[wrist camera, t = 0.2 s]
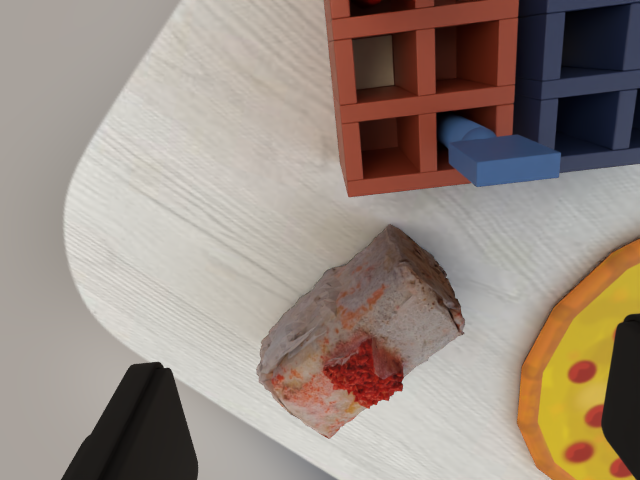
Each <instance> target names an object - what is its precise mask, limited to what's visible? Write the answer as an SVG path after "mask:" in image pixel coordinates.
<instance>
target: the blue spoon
mask: <svg viewBox="0 0 640 480" xmlns="http://www.w3.org/2000/svg"><path fill="white" fill-rule="evenodd" d="M436 130H437V141H439V142H440V143H441V144H443V145H444V146H445V147H447V148H448V149H449V164H450V165H451V166H453V167H454V168H455V169H456V170H457V171H458V172H460V173H461V174H462V175H463V176H464V177H466V178H467V179H468V180H469V181H470V182H471V183H473V184H474V185H475V186H476V187H481V186H490V185H499V184H507V183H516V182H525V181H533V180H542V179H551V178H558V177H559V170H560V159H561V153H560V152H558V151H556V150H553V149H551V148H549V147H546V146H544V145H542V144H539V143H537V142H534V141H532V140H530V139H527V138H525V137H523V136H520V135H518V134H517V135H508V136H499V137H497V136H496V135H495V133H494V132H493V131H491V130H490V129H488V128H486V127H484V126H481V125H479V124H477V123H475V122H473V121H471V120H468V119H466V118H464V117H462V116H460V115H458V114H455V113H453V112H451V111H445V112H437V113H436Z"/></svg>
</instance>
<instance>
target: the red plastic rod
mask: <svg viewBox="0 0 640 480" xmlns="http://www.w3.org/2000/svg"><path fill="white" fill-rule="evenodd" d="M352 1H353V2H354V4H355V5H356V6H358V7H359V8H362V9H369V8H372V7H373V6H375V5H376V4H378V3H379V2H381V1H383V0H352Z"/></svg>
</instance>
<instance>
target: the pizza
mask: <svg viewBox="0 0 640 480" xmlns="http://www.w3.org/2000/svg"><path fill="white" fill-rule="evenodd" d="M638 313H640V239H638V240H636V241H634V242H632V243H630V244H628V245H626V246H624V247H622V248H620V249H618V250H616V251H614V252H612V253H611V254H610V255H609V256H608V257H607V258H606V259H605V260H604V261H603V262H602V263H600V264H599V265H598V266H597V267H596V268H595V269H594V270H593V271H592V272H591V273H590V274H589V275H588V276H587V277H585V278H584V279H583V280H582V281H581V282H580V283H579V284H578V285H577V286H576V287H575V288H574V289H573V290H572V291H571V292H569V293H568V294H567V295H566V296H565V297H564V298H563V299H562V300H561V301H560V302H559V303H558V304H557V305H556V306H555V307H554V308H553V310H552V311H551V313H550V315H549V317H548V319H547V321H546V323H545V324H544V326H543V328H542V330H541V332H540V334H539V336H538V337H537V339H536V341H535V343H534V345H533V347H532V349H531V350H530V352H529V354H528V356H527V358H526V360H525V361H524V363H523V365H522V372H521V383H520V395H519V407H518V419H517V424H518V427H519V429H520V431H521V433H522V436H523V438H524V440H525V442H526V445H527V447H528V449H529V451H530V454H531V456H532V458H533V460H534V463H535V465H536V467H537V468H538V469H539V470H541V471H542V472H543V473H544V474H546V475H547V476H548V477H550V478H551V479H552V480H636V479H635V478H634V476H633V475H632V474H631V472H630V471H629V470H628V468H627V467H626V466H625V464H624V463H623V462H622V460H621V459H620V458H619V456H618V455H617V454H616V452H615V451H614V450H613V448H612V447H611V446H610V444H609V443H608V442H607V440H606V438H605V436H604V434H603V431H602V427H601V419H602V413H603V407H604V401H605V394H606V388H607V382H608V376H609V370H610V364H611V358H612V352H613V345H614V339H615V333H616V328H617V325H618V324H619V323H621V322H623V321H624V319H625V317H626V316H627V315H630V314H638Z"/></svg>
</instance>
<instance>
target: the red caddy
mask: <svg viewBox="0 0 640 480" xmlns="http://www.w3.org/2000/svg"><path fill="white" fill-rule="evenodd" d="M324 7H325V17H326V27H327V37H328V47H329V57H330V67H331V77H332V87H333V97H334V107H335V118H336V128H337V138H338V148H339V158H340V165H341V169H342V173H343V177H344V181H345V186H346V190H347V194H348V197H355V196H364V195H373V194H381V193H390V192H399V191H407V190H416V189H425V188H434V187H442V186H451V185H460V184H468V183H471V182H470V181H469V180H468V179H467V178H466V177H464V176H463V175H462V174H461V173H460V172H458V171H457V170H456V169H455V168H454V167H453V166H451V165H450V164H449V149H448V148H447V147H445V146H444V145H443V144H441V143H440V142H439V141H437V130H436V113H437V112H445V111H451V112H453V113H455V114H458V115H460V116H462V117H464V118H466V119H468V120H471V121H473V122H475V123H477V124H479V125H481V126H484V127H486V128H488V129H490V130H491V131H493V132H494V133H495V135H496V136H497V137H499V136H508V135H512V133H513V111H514V104H512V103H514V95H515V85H514V84H515V74H516V52H517V30H518V18H517V17H518V8H519V0H383V1H381V2H379V3H378V4H376V5H375V6H373V7H372V8H369V9H362V8H359V7H358V6H356V5H355V4H354V2H353V1H352V0H324Z"/></svg>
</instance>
